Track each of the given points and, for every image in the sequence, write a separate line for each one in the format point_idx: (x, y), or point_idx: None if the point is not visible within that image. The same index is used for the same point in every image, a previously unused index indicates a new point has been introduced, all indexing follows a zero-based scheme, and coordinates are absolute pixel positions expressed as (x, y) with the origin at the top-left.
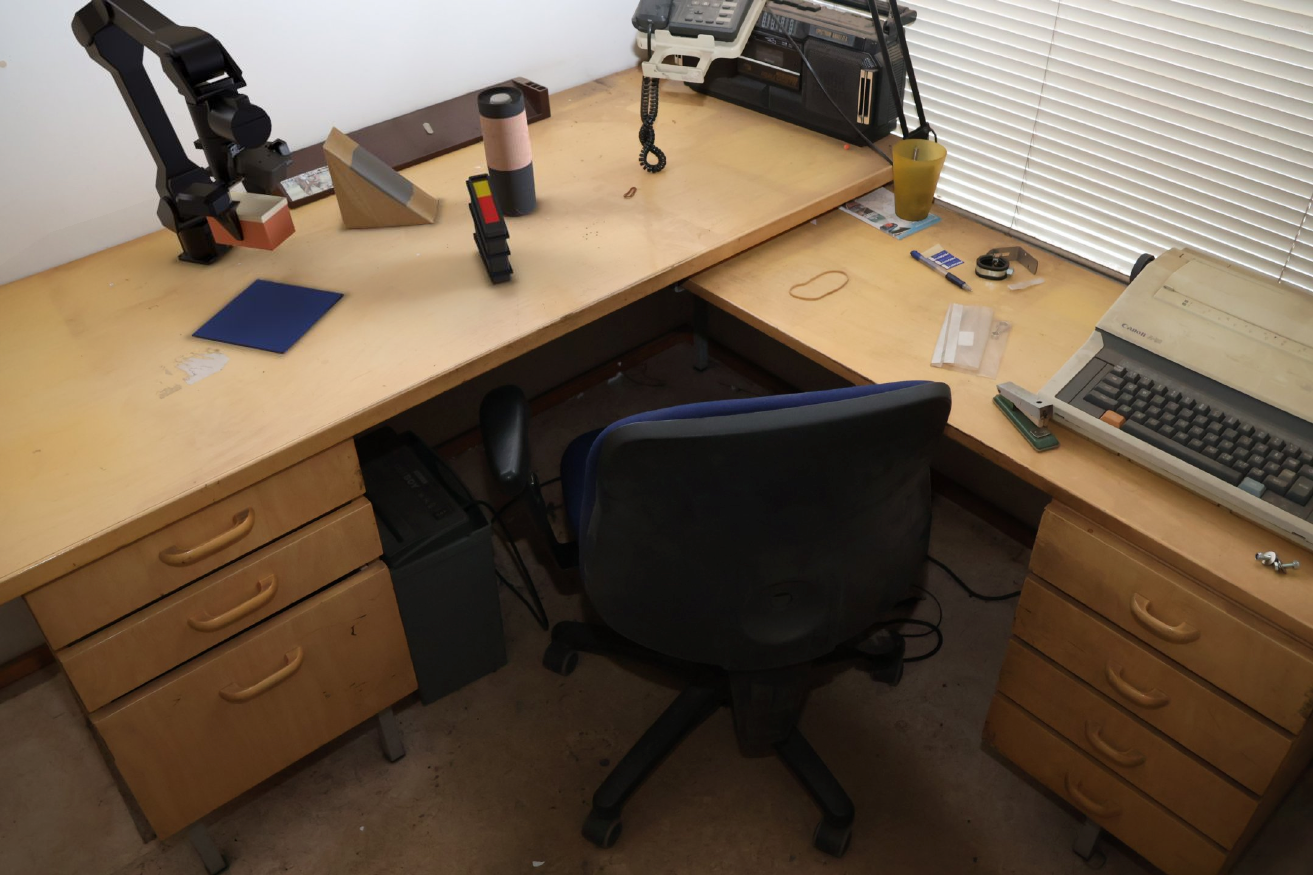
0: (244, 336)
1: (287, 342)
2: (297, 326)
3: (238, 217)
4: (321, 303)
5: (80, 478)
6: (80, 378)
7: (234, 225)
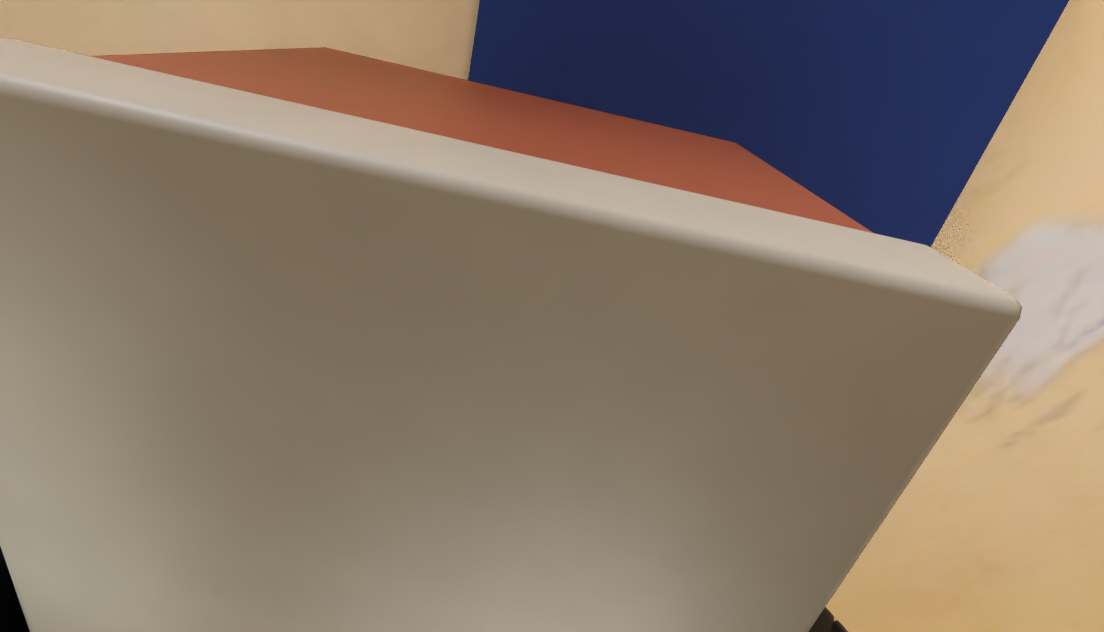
0: (886, 222)
1: None
2: None
3: None
4: None
5: None
6: (1000, 618)
7: (828, 619)
